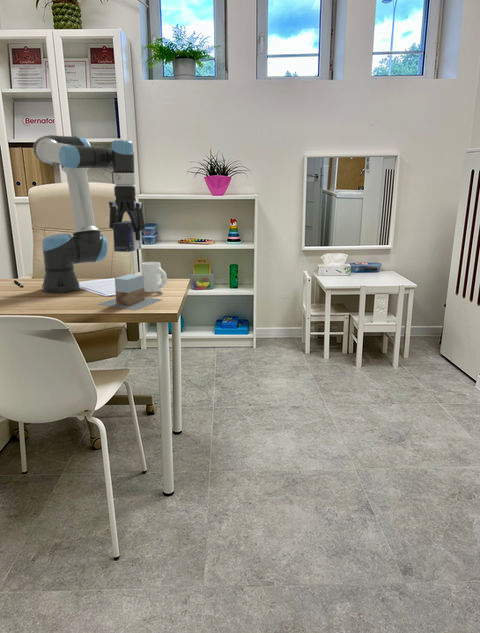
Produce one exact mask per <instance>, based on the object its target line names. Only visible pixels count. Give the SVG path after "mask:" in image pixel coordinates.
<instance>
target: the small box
mask: <svg viewBox="0 0 480 633" xmlns="http://www.w3.org/2000/svg"><path fill="white" fill-rule="evenodd" d="M133 231H134V228H133V225H132V222H131V220H130V221H129V220H124V221H123V220H122V222H117V223H113V229H112V232H113V234H112V235H113V249H114V250H113V251H114V252H118V253H119V252H121V253H125V252H127V253H130V252H133V251H137V250H138V249H136V250H133ZM139 247H140V249H142V248H141V247H142V244H141V239H140V240H139ZM140 249H139V250H140Z"/></svg>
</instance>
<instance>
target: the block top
mask: <svg viewBox="0 0 480 633" xmlns="http://www.w3.org/2000/svg"><path fill="white" fill-rule="evenodd" d="M114 287H115V289H114V291H115V292H116V291H118V292H125V293H130V292H133V291H136V290H139V289H142V288H144V275H142V274H137V273H129V274H126V275H122V276H121V275H120V276H117V277H114Z"/></svg>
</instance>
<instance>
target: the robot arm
mask: <svg viewBox="0 0 480 633" xmlns="http://www.w3.org/2000/svg"><path fill="white" fill-rule="evenodd" d="M32 151H33V154H34V155H35V158H36V159H37V160H38V161H40V162H42V163H44V164H50V165H60V167H61V170H62V171H63V172H64V173H65V174H66V180H67V185H68V191H69V199H70V203H71V210H72V216H73V220H74V228H75V229H74V230H73V232H72V234H70V233H57V234H52V235H51V234H50V235H49V236H46V237H43V239H42V241H41V242H42V248H41V250H42V255H43V263H44V276H43V283H42V284H41V288H42V289H41V290H42V291H43V292H45V293H50V294H60V293H61V294H63V293H71V292H75V291H78V290H80V282H79V281H78V278H77V275H76V273H75V268H74V266H75V264H76V265H78V264H87V263H96V262H102V261H103V260H104V259H105V258H106V257H107V253H108V240H107V238H106V236H105V235H104V234H101V230H100V229H99V228H98V227H97V226H96V221H95V213H94V208H93V202H92V201H93V200H92V194H91V190H90V183H89V177H88V171H89V170H90V169H100V170H101V169H103V170H104V169H106V170H112V173H113V184H114V185H115V186H114V187H113V189H114V190H113V191H114V197H115V200H114V201H109V202H108V204H109V206H108V207H109V229H111V230H113V223H117V222H123V218H124V214H126V213H127V215H128V217H129V219H130V221H131V222H132V225H133V228H134V231H133V250H134V251H137V250H140V247H139V240H140V241H141V239H142V238H141V232H142V231H144V230H145V229H146V227H145V221H144V220H145V219H144V212H143V206H144V205H143V202H139V201H137V200H136V195H137V194H136V187H135V185H136V178H135V177H136V174H135V151H134V143H133V142H132V141H131V140H122V139H121V140H120V139H118V140H117V139H116V140H112V141H111V147H105V146H104V147H103V146H91V144H90V142H89V141H88V139H87V138H85V137H81V136H79V137H78V136H76V135H75V136H69V135H67V136H66V135H53V134H51V135H49V134H48V135H43V136H40V137H39V138H38V139H36V140H35V141H34V143H33V146H32ZM136 249H137V250H136Z"/></svg>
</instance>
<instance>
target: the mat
mask: <svg viewBox="0 0 480 633" xmlns="http://www.w3.org/2000/svg"><path fill="white" fill-rule="evenodd" d="M163 300H164V299H163V298H162V299H161V298H160V299H159V298H154V297H153V298H152V297H146V296H145V300H144V301H141V302H138V303H135V304H133V305H130V306H127V305H120V304H116V297H115V298H113V299H110V300H106V301H103V302H100V303H97V305H98V306H106V307H110V308H111V307H112V308H116V309H117V308H118V309H123V310H130V311H131V310H132V311H138V310H140V309H142V308H145V307H148V306H151V305H153V304H155V303H158V302H160V301H163Z"/></svg>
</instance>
